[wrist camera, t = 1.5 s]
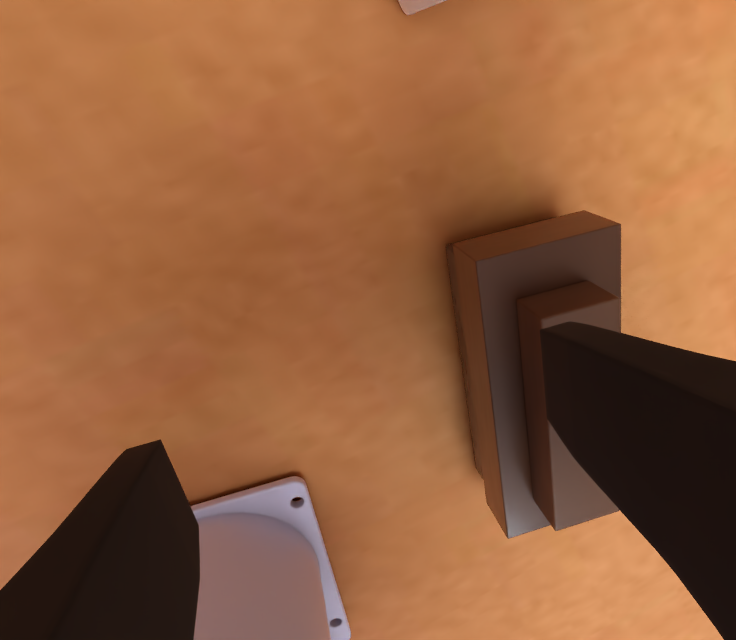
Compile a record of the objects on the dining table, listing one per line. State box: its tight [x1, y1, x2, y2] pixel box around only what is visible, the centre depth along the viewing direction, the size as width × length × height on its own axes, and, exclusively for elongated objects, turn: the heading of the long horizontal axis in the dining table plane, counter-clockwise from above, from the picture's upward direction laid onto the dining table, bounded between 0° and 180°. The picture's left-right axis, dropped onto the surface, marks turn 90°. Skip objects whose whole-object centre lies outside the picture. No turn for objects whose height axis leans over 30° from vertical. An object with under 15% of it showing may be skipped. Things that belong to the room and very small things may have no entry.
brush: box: [446, 211, 621, 538], centre depth 19 cm, size 11×5×5 cm, turn 11°
